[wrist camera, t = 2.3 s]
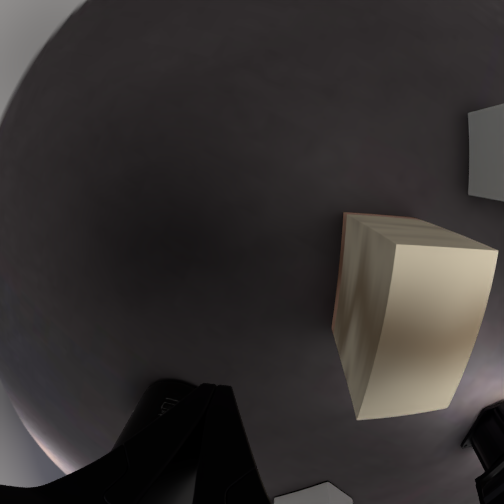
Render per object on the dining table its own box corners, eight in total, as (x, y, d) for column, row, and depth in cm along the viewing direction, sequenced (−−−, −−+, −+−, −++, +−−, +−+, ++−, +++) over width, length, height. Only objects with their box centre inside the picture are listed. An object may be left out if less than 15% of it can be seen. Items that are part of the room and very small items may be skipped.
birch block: (396, 327, 19) (447, 408, 11) (331, 328, 20) (356, 420, 11) (414, 217, 17) (498, 250, 9) (343, 212, 18) (396, 244, 9)
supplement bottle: (131, 388, 23) (68, 486, 12) (189, 368, 22) (132, 492, 10) (175, 437, 24) (137, 534, 13) (234, 423, 23) (210, 541, 11)
